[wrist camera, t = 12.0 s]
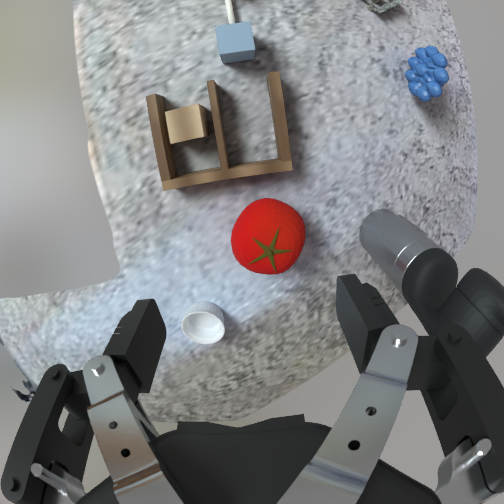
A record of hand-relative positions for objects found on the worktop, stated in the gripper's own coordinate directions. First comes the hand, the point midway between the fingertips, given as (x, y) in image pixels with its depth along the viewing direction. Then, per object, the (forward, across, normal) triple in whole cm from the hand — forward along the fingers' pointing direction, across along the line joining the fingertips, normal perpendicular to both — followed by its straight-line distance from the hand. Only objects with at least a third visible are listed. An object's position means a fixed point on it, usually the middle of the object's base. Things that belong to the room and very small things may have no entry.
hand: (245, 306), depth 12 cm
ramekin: (+36, +13, +28) cm, 48 cm away
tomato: (+36, -2, +10) cm, 38 cm away
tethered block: (+36, -1, -27) cm, 45 cm away
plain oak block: (+36, +8, -10) cm, 38 cm away
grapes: (+36, -33, -16) cm, 52 cm away
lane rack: (+36, +3, -8) cm, 37 cm away
